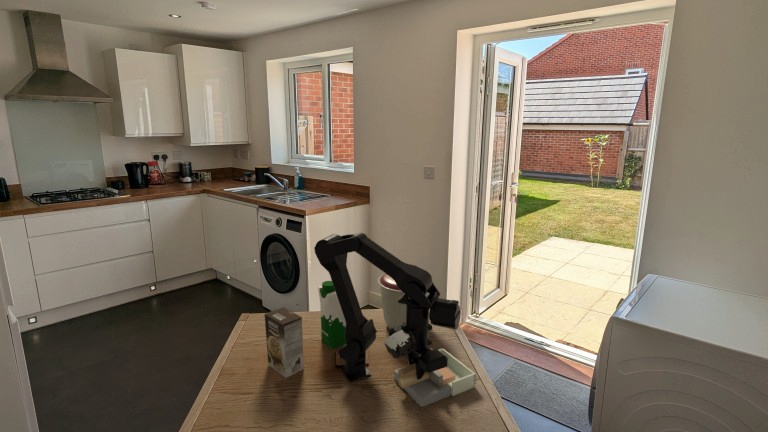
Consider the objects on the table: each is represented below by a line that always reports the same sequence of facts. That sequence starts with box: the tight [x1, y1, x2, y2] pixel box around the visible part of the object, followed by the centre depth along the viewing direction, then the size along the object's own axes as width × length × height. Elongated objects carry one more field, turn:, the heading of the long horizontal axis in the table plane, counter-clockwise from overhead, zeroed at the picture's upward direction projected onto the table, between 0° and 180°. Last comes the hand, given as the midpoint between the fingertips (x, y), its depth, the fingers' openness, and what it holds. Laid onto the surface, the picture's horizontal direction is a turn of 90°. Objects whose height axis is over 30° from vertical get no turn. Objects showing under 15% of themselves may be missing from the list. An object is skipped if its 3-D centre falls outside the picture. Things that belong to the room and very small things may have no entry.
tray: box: [438, 348, 476, 397], centre depth 112 cm, size 14×7×4 cm, turn 29°
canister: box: [377, 273, 434, 330], centre depth 138 cm, size 18×18×21 cm
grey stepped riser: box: [393, 366, 452, 408], centre depth 108 cm, size 13×9×2 cm
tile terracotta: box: [437, 367, 456, 385], centre depth 107 cm, size 4×4×2 cm
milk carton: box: [317, 280, 346, 350], centre depth 128 cm, size 9×9×20 cm
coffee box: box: [263, 306, 305, 379], centre depth 115 cm, size 9×6×16 cm
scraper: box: [396, 363, 443, 390], centre depth 106 cm, size 11×9×4 cm
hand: (416, 376), depth 106 cm, fingers closed on scraper, 2 cm apart
